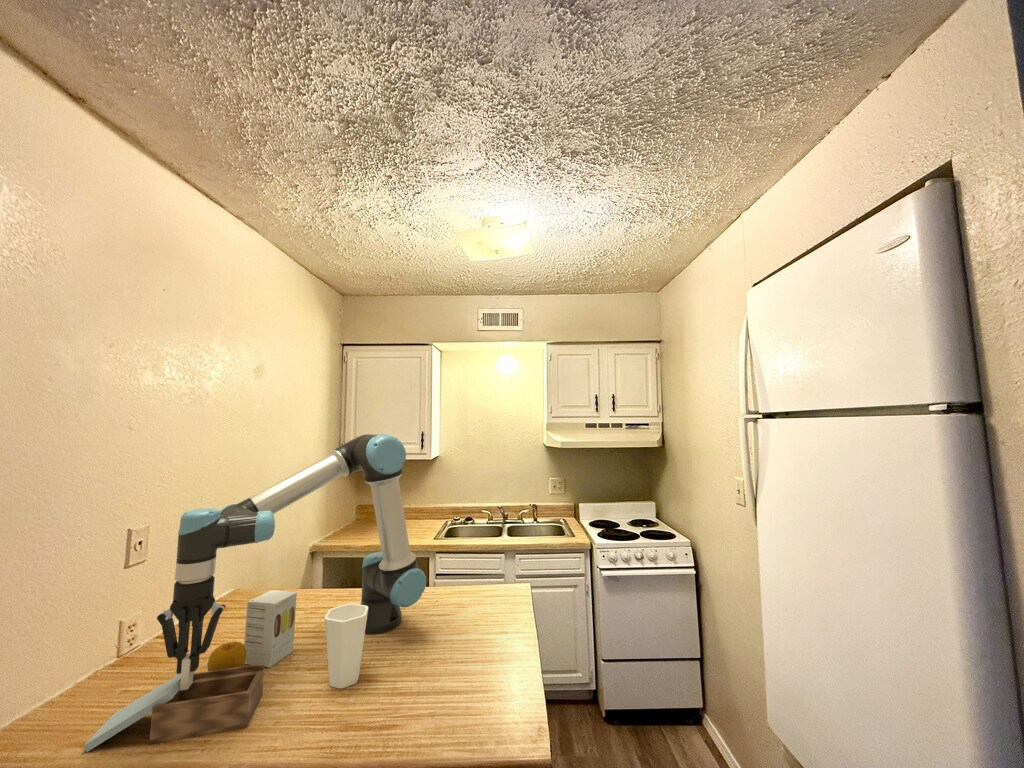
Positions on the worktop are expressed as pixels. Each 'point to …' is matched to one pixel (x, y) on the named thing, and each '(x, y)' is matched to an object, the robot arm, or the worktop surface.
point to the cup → (345, 643)
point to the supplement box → (270, 627)
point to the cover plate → (135, 711)
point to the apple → (227, 656)
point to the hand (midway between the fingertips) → (186, 686)
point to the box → (209, 704)
